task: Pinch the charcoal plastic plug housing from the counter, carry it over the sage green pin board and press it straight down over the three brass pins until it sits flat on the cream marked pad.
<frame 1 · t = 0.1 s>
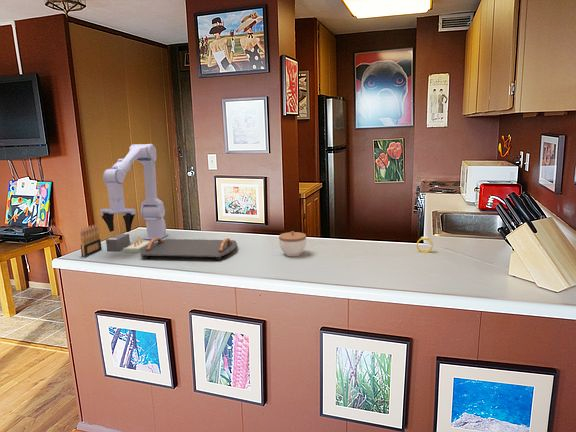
hand: (120, 231, 186), 10 cm above the counter, tool pointing down, fingers open, 7 cm apart
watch: (424, 252, 178), on the counter
plug housing: (119, 247, 199), on the counter
lidded jar: (293, 254, 181), on the counter
ammunition clip: (92, 254, 191), on the counter
pin header: (138, 248, 197), on the counter
serving board: (190, 253, 188), on the counter
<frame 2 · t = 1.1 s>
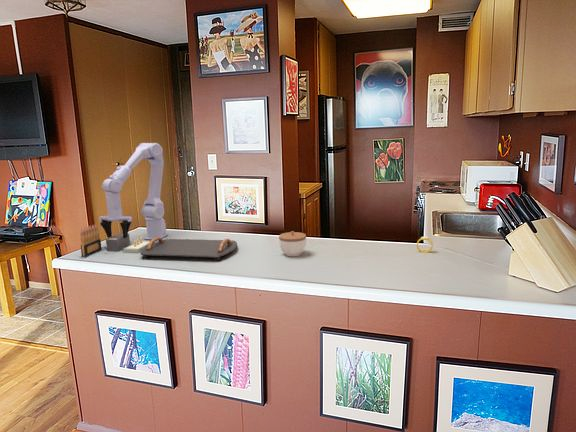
hand: (117, 237, 198), 5 cm above the counter, tool pointing down, fingers open, 7 cm apart
nothing on the counter moved.
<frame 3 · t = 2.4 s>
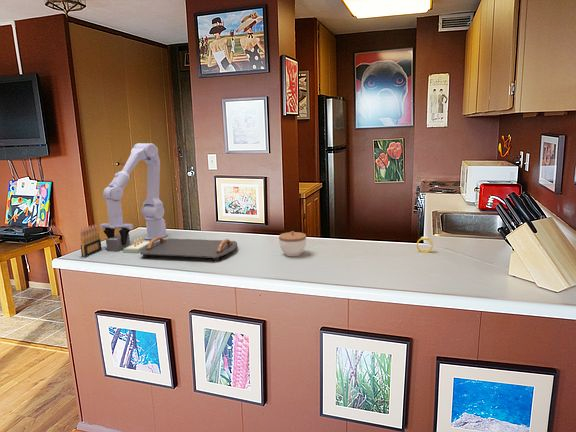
hand: (118, 244, 198), 1 cm above the counter, tool pointing down, fingers closed on plug housing, 5 cm apart
plug housing: (118, 247, 199), on the counter, touching gripper
everything else where it was.
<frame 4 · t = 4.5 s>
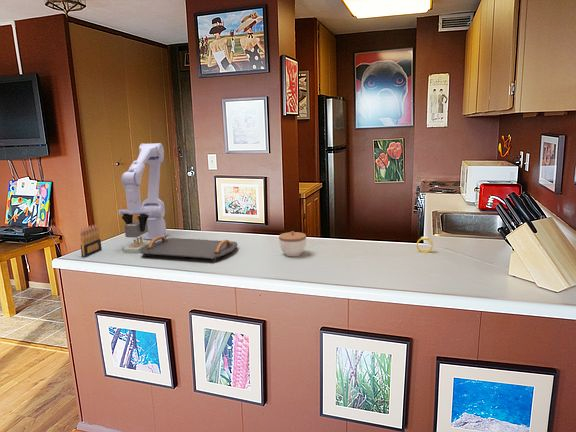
hand: (136, 231, 195), 8 cm above the counter, tool pointing down, fingers closed on plug housing, 5 cm apart
plug housing: (137, 234, 195), point 6 cm above the counter, touching gripper
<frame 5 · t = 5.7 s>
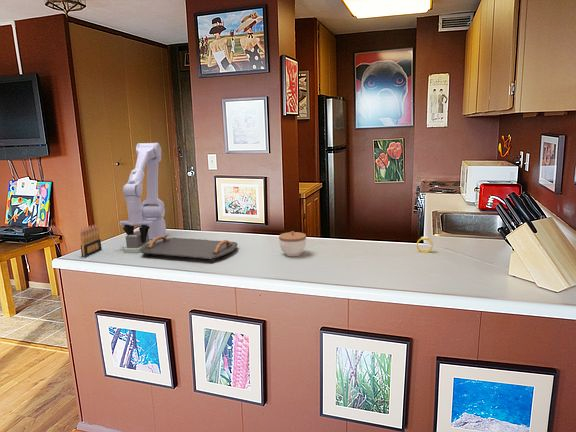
hand: (138, 242, 196), 3 cm above the counter, tool pointing down, fingers closed on plug housing, 5 cm apart
plug housing: (138, 244, 196), point 2 cm above the counter, touching gripper, pin header
when the fingers open (3 cm above the counter, at t = 6.5 s): plug housing stays where it is, resting on pin header.
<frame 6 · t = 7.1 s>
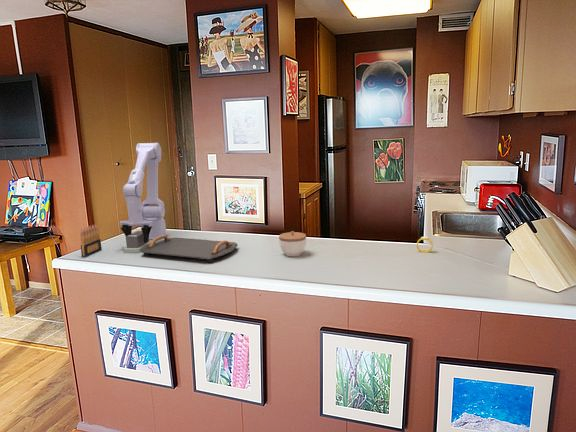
hand: (138, 242, 196), 3 cm above the counter, tool pointing down, fingers open, 7 cm apart
plug housing: (138, 244, 196), point 2 cm above the counter, touching pin header
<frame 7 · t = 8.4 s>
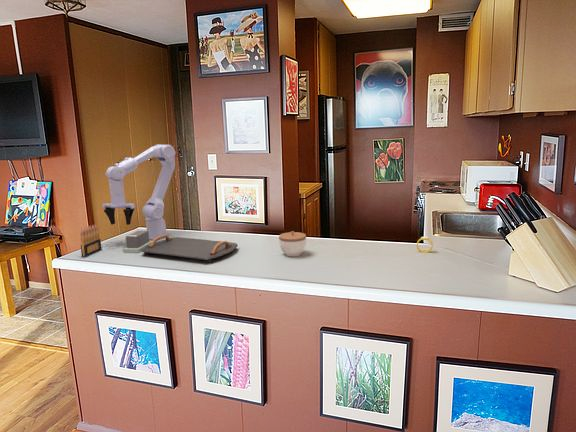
hand: (120, 224, 202), 9 cm above the counter, tool pointing down, fingers open, 7 cm apart
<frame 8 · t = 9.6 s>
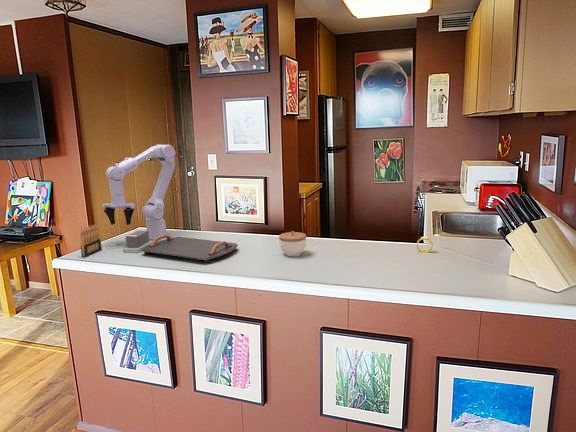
hand: (120, 224, 202), 9 cm above the counter, tool pointing down, fingers open, 7 cm apart
at the end: plug housing 0.1 cm off-centre on the pin header, point 1.6 cm above the pin header's base; plug housing tilted 0°; the gripper is holding nothing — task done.
